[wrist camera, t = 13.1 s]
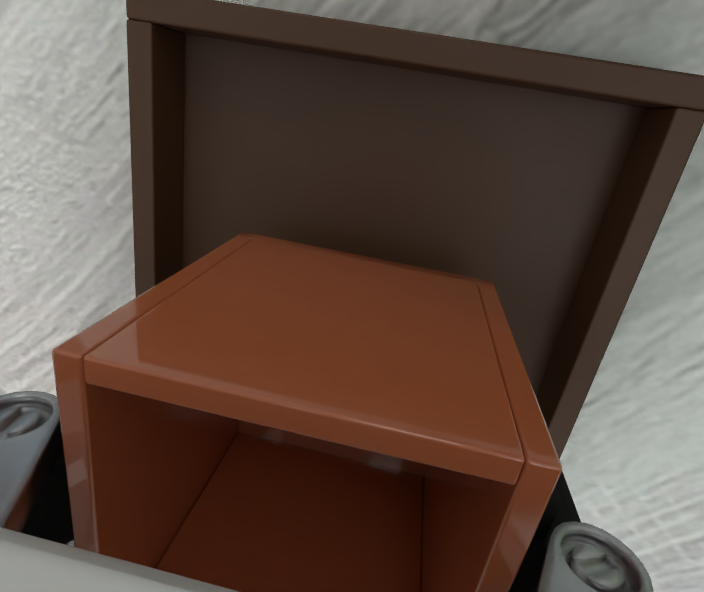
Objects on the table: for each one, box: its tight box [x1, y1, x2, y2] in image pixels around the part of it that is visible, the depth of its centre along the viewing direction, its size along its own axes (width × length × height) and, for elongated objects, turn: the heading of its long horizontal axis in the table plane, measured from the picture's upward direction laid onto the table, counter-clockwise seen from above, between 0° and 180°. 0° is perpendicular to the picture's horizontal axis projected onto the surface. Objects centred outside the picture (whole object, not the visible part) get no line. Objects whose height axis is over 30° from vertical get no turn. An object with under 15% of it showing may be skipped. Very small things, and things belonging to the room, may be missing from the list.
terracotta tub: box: [52, 232, 562, 592], centre depth 9 cm, size 6×6×6 cm
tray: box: [126, 0, 704, 459], centre depth 13 cm, size 15×12×2 cm
